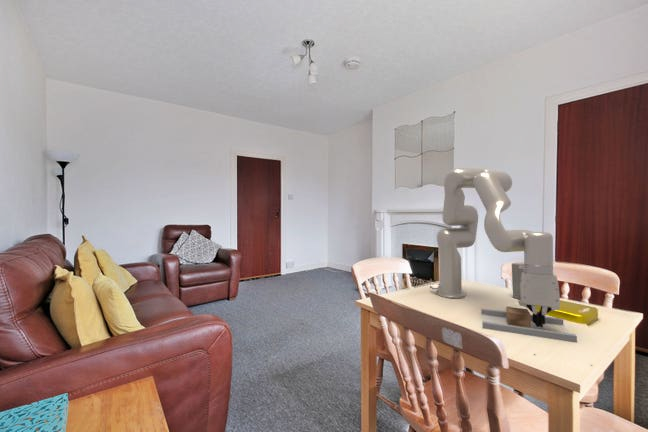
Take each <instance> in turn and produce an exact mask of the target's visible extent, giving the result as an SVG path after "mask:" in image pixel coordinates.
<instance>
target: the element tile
mask: <svg viewBox="0 0 648 432" xmlns="http://www.w3.org/2000/svg"><path fill="white" fill-rule="evenodd" d="M540 307H541V306H536V308H537V312H538V313H539V311H540ZM559 307H560V309H559V310H551V311H550V312H548V313H547V314H546V315H545V316H547V317H554V318H562V319H563V321H567V322H572V323H576V324H582V325H584V324H585V326H587V327H589V326H590V325H592V324H594V323H595V322H597V321H598V320H599V309H598V308H597V307H595V306H590V305H585V304H581V303H577V302H572V301H571V302H570V301H566V300H562V299H560V305H559Z"/></svg>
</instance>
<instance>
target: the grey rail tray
mask: <svg viewBox="0 0 648 432" xmlns="http://www.w3.org/2000/svg"><path fill="white" fill-rule="evenodd" d="M480 314H481V324H482V329H484V330H485V329H486V330H491V331H499V332H504V333H512V334H519V335H525V336H532V337H538V338H545V339H550V340H557V341H563V342H570V343H571V342H572V343H578V336H577V335H576V333H575V334H574V333H570V332H569V331H568V330H567V329H568V328H566V327H565V325H564V320H563V319H562V318H556V317H552V316H547V315H545V324H550V325H556V326H560V328H561V329H562V330H563V331H564V332H561V331H556V330H547V329H542V327H540V326H539V327H536V325H535V323H533V314H530V315H531V328H527V327H520V326H513V325H508V324H507V321H506V311H505V310H504V311H503V310H497V309H496V310H495V309H489V308H488V309H487V308H482V307H481V309H480Z"/></svg>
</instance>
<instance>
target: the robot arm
mask: <svg viewBox="0 0 648 432" xmlns="http://www.w3.org/2000/svg"><path fill="white" fill-rule="evenodd" d="M512 186H513V179H512V177H511V176H510V175H509V174H508V173H507V172H504V171H499V170H492V169H485V168H470V167H469V168H467V167H463V168H454V169H451V170H450V171H448V172H447V174H446V175H445V177H444V181H443V189H444V200H443V207H442V209H443V210H442V222H443V223H444V225H446V226H450V227H446V228H442V229H440V230H439V231H438V232H437V234H436V242H437V246H438V255H439V256H438V257H439V258H438V260H439V261H438V262H439V263H438V264H439V271H438V272H439V283H437V284H433V283H430V284H429V289H432V290H436V291H435V293H436V295H437V296H439V297H442V298H445V299H463V298H466V292H464V291H463V290H462V287H463V286H462V285H463V283H462V257H461V253H460V252H459V250H458V249H459V248H460V249H461V248H470V247H472V246H473V245H474V243H475V242H476V239H477V231H478V226H479V225H478V224H479V213H478V210H477V209H476V207H474V206H473V205H469V204H465V199H466V196H465V193H464V190H463V189H475V191H476V194H477V195H478V196H479V199H480V202H482V205H483V207H484V209H485V211H486V212H485V217H484V223H483V225H484V231H485V234H486V235H487V238H488V240H489V242H490V243H491V245H492V247H493V248H494V249H495V250H497V251H498V252H501V253H510V252H515V253H516V252H523V257H524V259H523V263H524V264H523V265H519V269H522V270H524V272H522V275H521V280H520V291H519V297H520V299H518V300H519V301H518V305H519V306H521V307H522V308H523V307H524V308H525V309H528V311H529V312H531V313H532V315H533V323H535V325H536V327H539V326H540V327H541V328H543V327H544V325H545V324H546V323H545V316H547V315H546V314H547V313H548V312H550V311H551V310H559V309H560V307H559V305H560V300H561V299H560V297H561V295H560V287H559V281H558V277H557V275H555V274H554V236H553V235H552V233H550V232H547V231H545V232H544V231H531V230H526V229H506V228H505V227H504V225H503V223H502V221H501V213H503V212H505V211H506V210H508V209H509V208H510V207H511V205H512V202H511V199H510V197H509V196H508V194H507V192H508V191H510V190H511V188H512ZM451 226H456V227H451ZM458 226H459V227H458ZM536 306H541V307H540V311H539V313H538V312H537V308H536Z"/></svg>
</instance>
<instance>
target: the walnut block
mask: <svg viewBox="0 0 648 432" xmlns="http://www.w3.org/2000/svg"><path fill="white" fill-rule="evenodd" d="M531 315H532V314H531V313H530V310H529V309H528V308H523V307H522V308H521V307H513V306H506V321H507V324H508V325H513V326H520V327H527V328H531Z"/></svg>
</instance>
